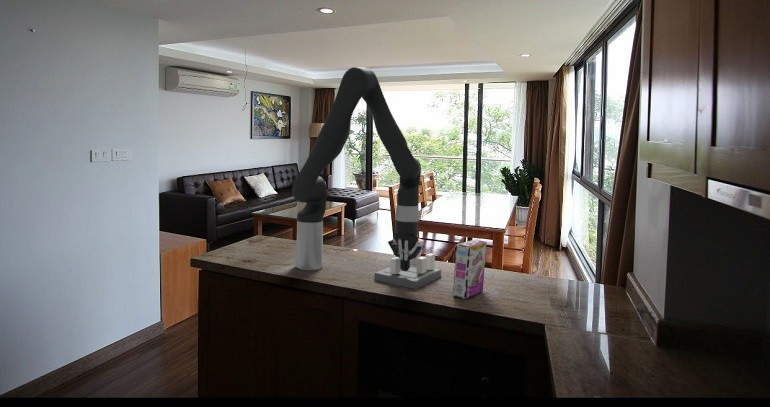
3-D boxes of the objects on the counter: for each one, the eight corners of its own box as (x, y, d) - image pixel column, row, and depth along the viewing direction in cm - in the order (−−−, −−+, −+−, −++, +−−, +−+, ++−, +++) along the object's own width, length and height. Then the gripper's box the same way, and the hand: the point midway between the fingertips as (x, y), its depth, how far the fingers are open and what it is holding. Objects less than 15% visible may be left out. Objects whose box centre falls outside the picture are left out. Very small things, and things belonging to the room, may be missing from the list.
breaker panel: (374, 279, 158) (375, 256, 157) (401, 268, 173) (402, 247, 172) (416, 289, 150) (417, 264, 149) (440, 276, 165) (441, 254, 164)
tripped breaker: (389, 273, 156) (390, 258, 155) (395, 270, 159) (395, 256, 158) (395, 274, 155) (395, 259, 154) (400, 272, 158) (401, 257, 157)
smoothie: (421, 267, 176) (423, 230, 174) (404, 266, 177) (406, 229, 175) (423, 263, 182) (425, 227, 180) (407, 261, 183) (408, 226, 181)
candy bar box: (466, 300, 141) (469, 246, 139) (452, 296, 144) (455, 244, 142) (484, 291, 149) (487, 241, 147) (470, 288, 153) (473, 238, 150)
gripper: (383, 217, 153) (381, 269, 155) (419, 222, 146) (417, 277, 148) (395, 215, 159) (393, 264, 162) (430, 219, 152) (427, 271, 155)
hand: (404, 270), depth 155 cm, fingers closed
